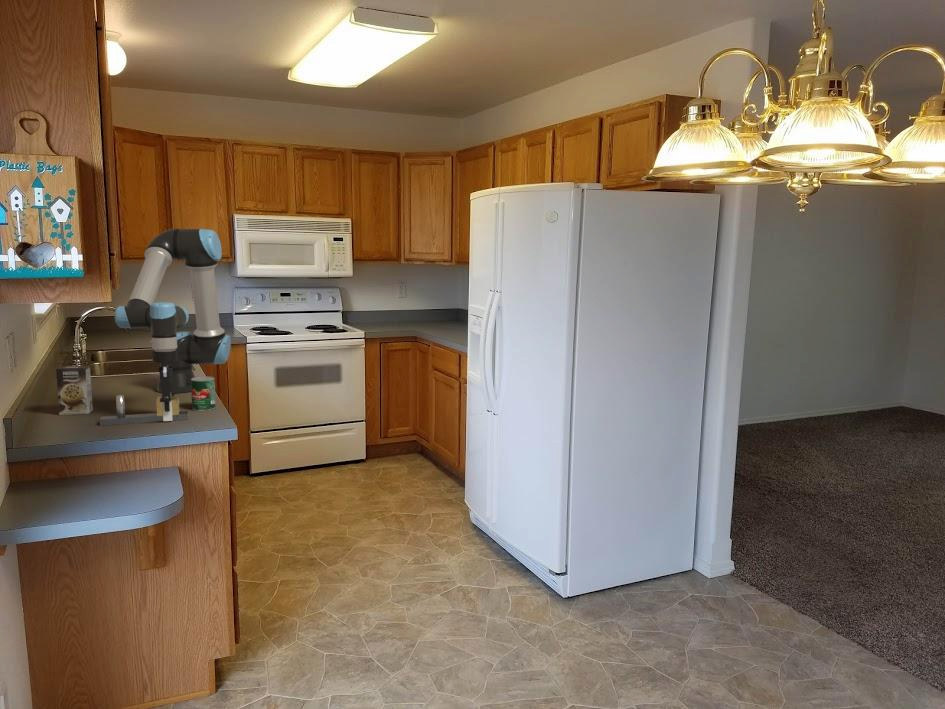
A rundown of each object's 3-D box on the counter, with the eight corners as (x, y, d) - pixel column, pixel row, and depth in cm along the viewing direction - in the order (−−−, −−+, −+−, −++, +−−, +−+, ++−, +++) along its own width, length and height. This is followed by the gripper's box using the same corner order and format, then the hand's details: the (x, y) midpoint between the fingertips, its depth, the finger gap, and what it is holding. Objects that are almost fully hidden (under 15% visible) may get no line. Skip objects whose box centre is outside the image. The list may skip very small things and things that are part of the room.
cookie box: (58, 415, 228) (54, 368, 226) (64, 411, 235) (60, 365, 232) (88, 414, 231) (85, 367, 228) (93, 409, 237) (90, 364, 235)
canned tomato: (192, 412, 236) (190, 381, 234) (192, 407, 243) (190, 377, 242) (216, 410, 239) (215, 379, 237) (215, 405, 246) (214, 375, 245)
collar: (158, 411, 227) (157, 397, 226) (179, 410, 229) (178, 395, 228) (157, 416, 221) (156, 401, 220) (178, 414, 223) (178, 399, 222)
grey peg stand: (101, 422, 220) (99, 395, 218) (188, 416, 229) (187, 390, 228) (100, 425, 216) (98, 398, 215) (188, 419, 226) (186, 393, 224)
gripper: (154, 346, 229) (158, 412, 233) (150, 354, 211) (154, 426, 215) (178, 345, 232) (181, 410, 235) (176, 353, 214) (179, 424, 217)
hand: (168, 418), depth 225 cm, fingers closed on collar, 6 cm apart
